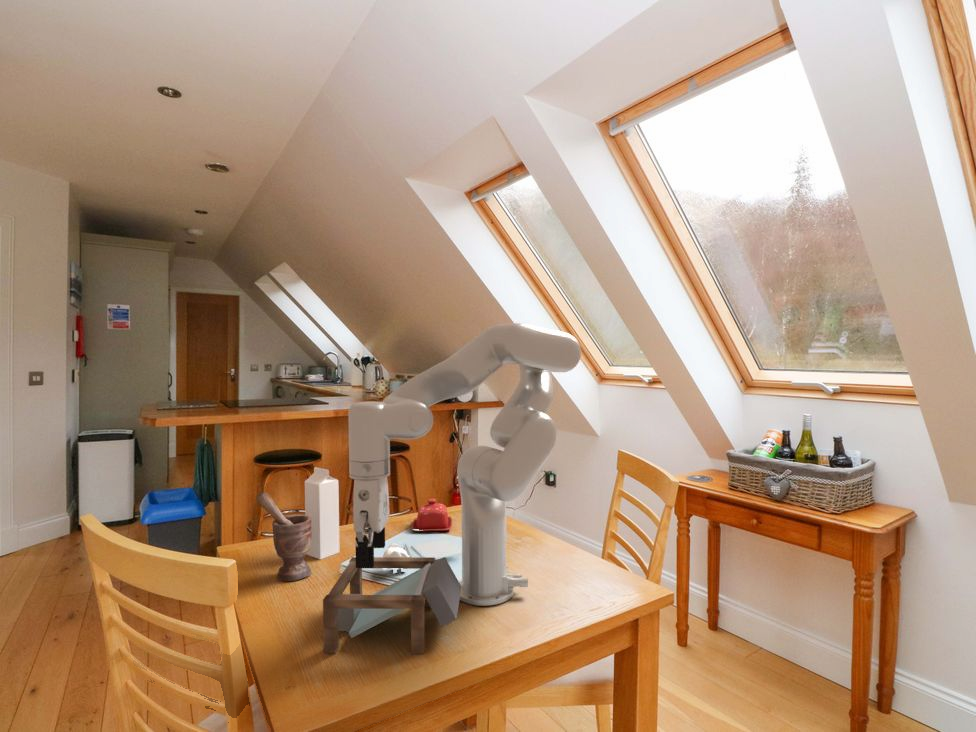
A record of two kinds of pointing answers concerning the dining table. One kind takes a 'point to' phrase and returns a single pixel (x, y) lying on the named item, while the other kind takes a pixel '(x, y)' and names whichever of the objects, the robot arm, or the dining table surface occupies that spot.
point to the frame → (373, 601)
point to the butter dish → (432, 517)
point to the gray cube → (347, 617)
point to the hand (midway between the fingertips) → (371, 557)
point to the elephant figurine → (395, 551)
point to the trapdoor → (426, 581)
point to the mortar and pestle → (289, 539)
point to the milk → (322, 513)
